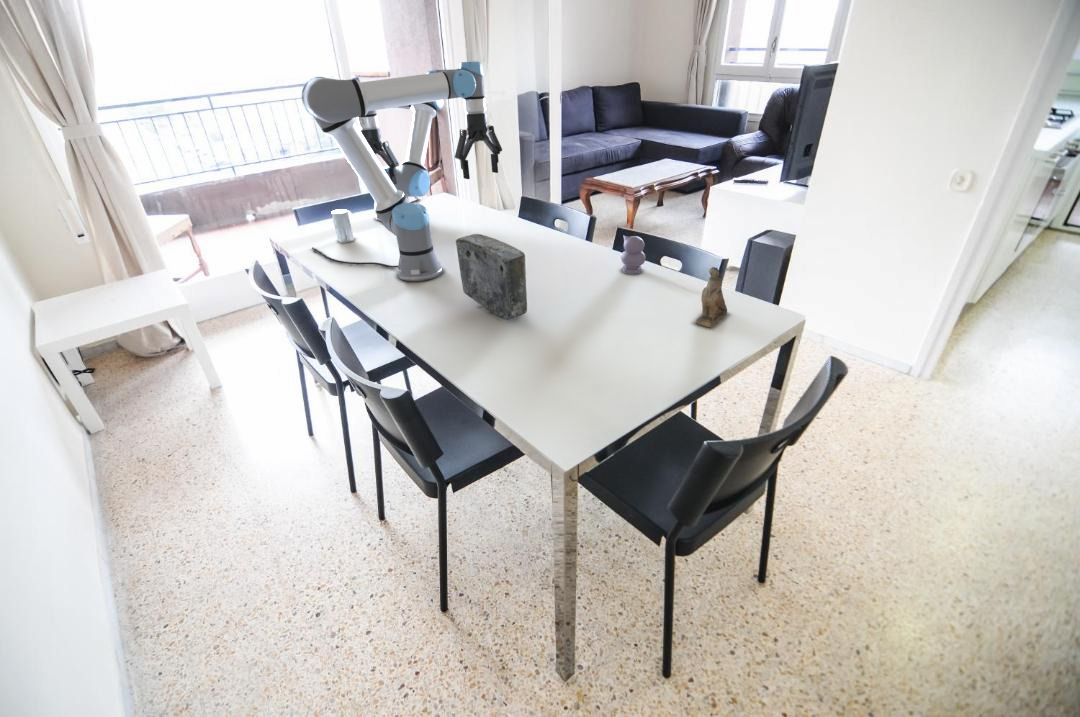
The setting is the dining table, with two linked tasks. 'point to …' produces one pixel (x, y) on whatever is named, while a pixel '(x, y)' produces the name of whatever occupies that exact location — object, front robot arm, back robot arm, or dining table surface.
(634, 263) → the cat figurine
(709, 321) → the brown carved statuette
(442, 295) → the dining table surface
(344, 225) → the canister
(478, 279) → the concrete block
